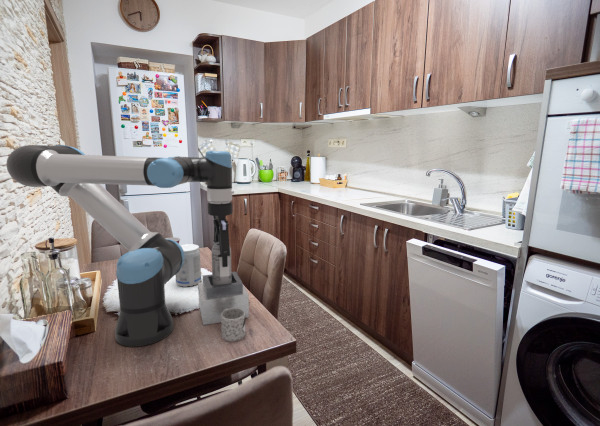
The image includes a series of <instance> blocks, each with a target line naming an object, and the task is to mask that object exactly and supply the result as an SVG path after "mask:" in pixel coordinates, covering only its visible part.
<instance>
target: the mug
mask: <svg viewBox="0 0 600 426" xmlns="http://www.w3.org/2000/svg"><path fill="white" fill-rule="evenodd" d="M220 323H221V325H220V326H221V338H222V339H223V340H224V341H225V342H237V341H240V340H242V339H243V338H245V336H246V318H245V312H244V310H242V309H239V308H231V309H224V311H223V312H222V313H221V322H220Z"/></svg>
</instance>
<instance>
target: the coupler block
mask: <svg viewBox="0 0 600 426" xmlns="http://www.w3.org/2000/svg"><path fill="white" fill-rule="evenodd" d="M231 274H232V283H230V284H222V285H214V286H213V279H212V274H205V275H202V282H200V283H198V284H197V288H198V289H197V293H198V307H200V308H199V312H200V317H201V321H202V325H203V326H206V325H212V324H218V323H221V313H222V312H223V311H224V309H231V308H239V309H242V310H244V312H245V319H247V318H249V317H250V311H249V310H250V307H249V305H250V303H249V301H250V300H249V297H250V294H249V292H248V290H247V288H246V287H245V285H244V284H243V281H242V280H241V278H240V276H239V275H238V272H236V271H231Z"/></svg>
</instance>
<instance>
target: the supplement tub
mask: <svg viewBox="0 0 600 426" xmlns="http://www.w3.org/2000/svg"><path fill="white" fill-rule="evenodd" d="M180 246H181V247H182V249H183V251H184V255H185V260H184V264H183V266H182V267H181V269H180V270H179V272H178V273H177V274H176V275H175V284H176V285H177V286H178V287H182V286H183V287H185V288H186V287H187V286H190V287H194V286H196V285H198V283H202V282H201V281H202V270H201V269H202V268H201V252H200V246H199V245H198V244H194V243H186V244H180ZM193 285H194V286H193ZM187 288H188V287H187Z"/></svg>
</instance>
